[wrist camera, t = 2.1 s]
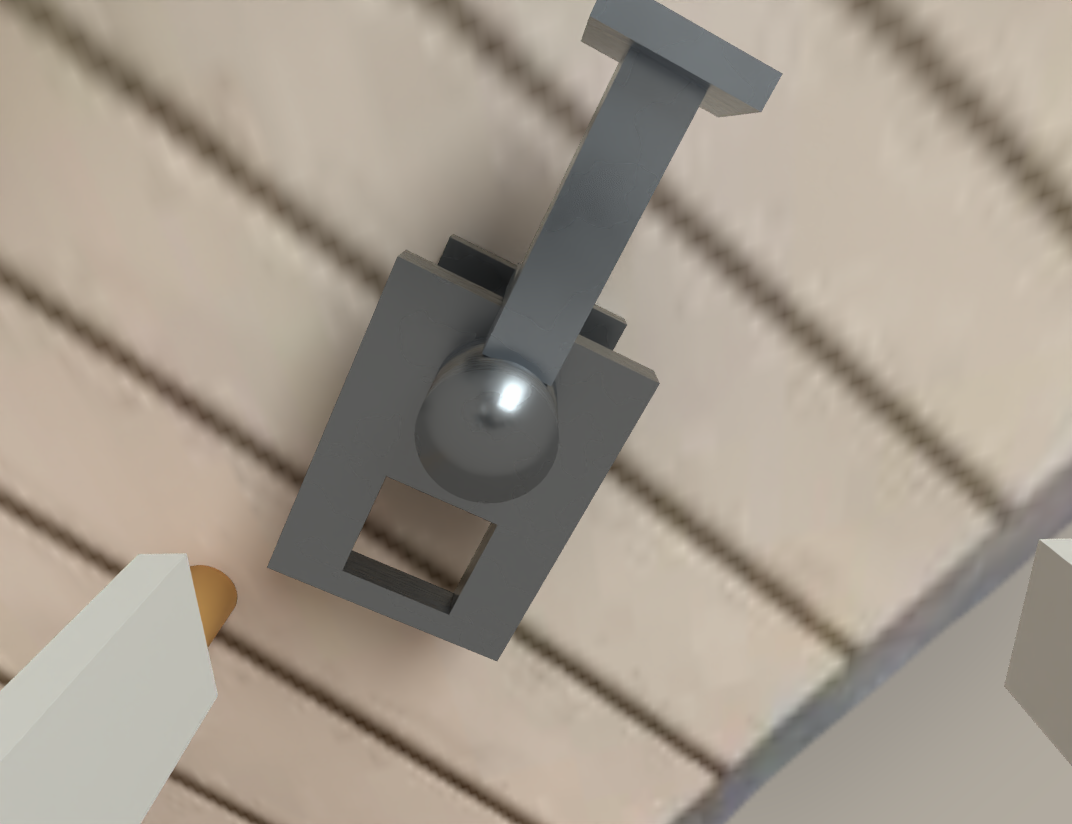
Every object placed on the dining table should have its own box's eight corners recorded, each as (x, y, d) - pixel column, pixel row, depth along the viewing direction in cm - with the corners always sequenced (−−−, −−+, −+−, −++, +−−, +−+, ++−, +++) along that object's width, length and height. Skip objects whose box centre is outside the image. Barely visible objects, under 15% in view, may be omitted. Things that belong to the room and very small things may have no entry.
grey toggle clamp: (313, 496, 34) (224, 632, 25) (527, -3, 27) (516, -79, 17) (505, 578, 36) (490, 736, 26) (758, 126, 28) (864, 120, 19)
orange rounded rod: (165, 604, 36) (13, 788, 26) (183, 555, 35) (33, 726, 25) (226, 628, 37) (101, 818, 27) (245, 580, 36) (123, 759, 26)
